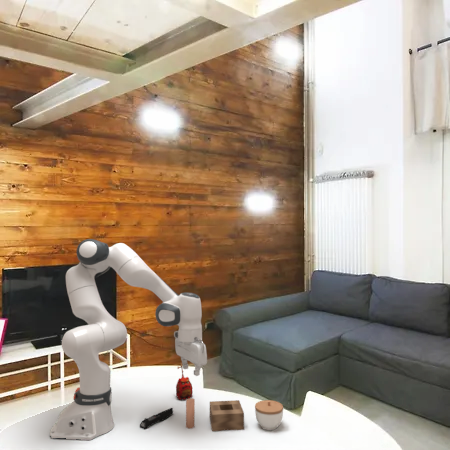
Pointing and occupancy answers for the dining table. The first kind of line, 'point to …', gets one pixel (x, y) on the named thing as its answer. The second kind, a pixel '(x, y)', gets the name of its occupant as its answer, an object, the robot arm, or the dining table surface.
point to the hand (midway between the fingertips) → (190, 371)
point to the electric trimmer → (156, 418)
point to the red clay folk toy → (183, 387)
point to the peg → (190, 413)
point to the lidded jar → (269, 414)
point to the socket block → (226, 415)
